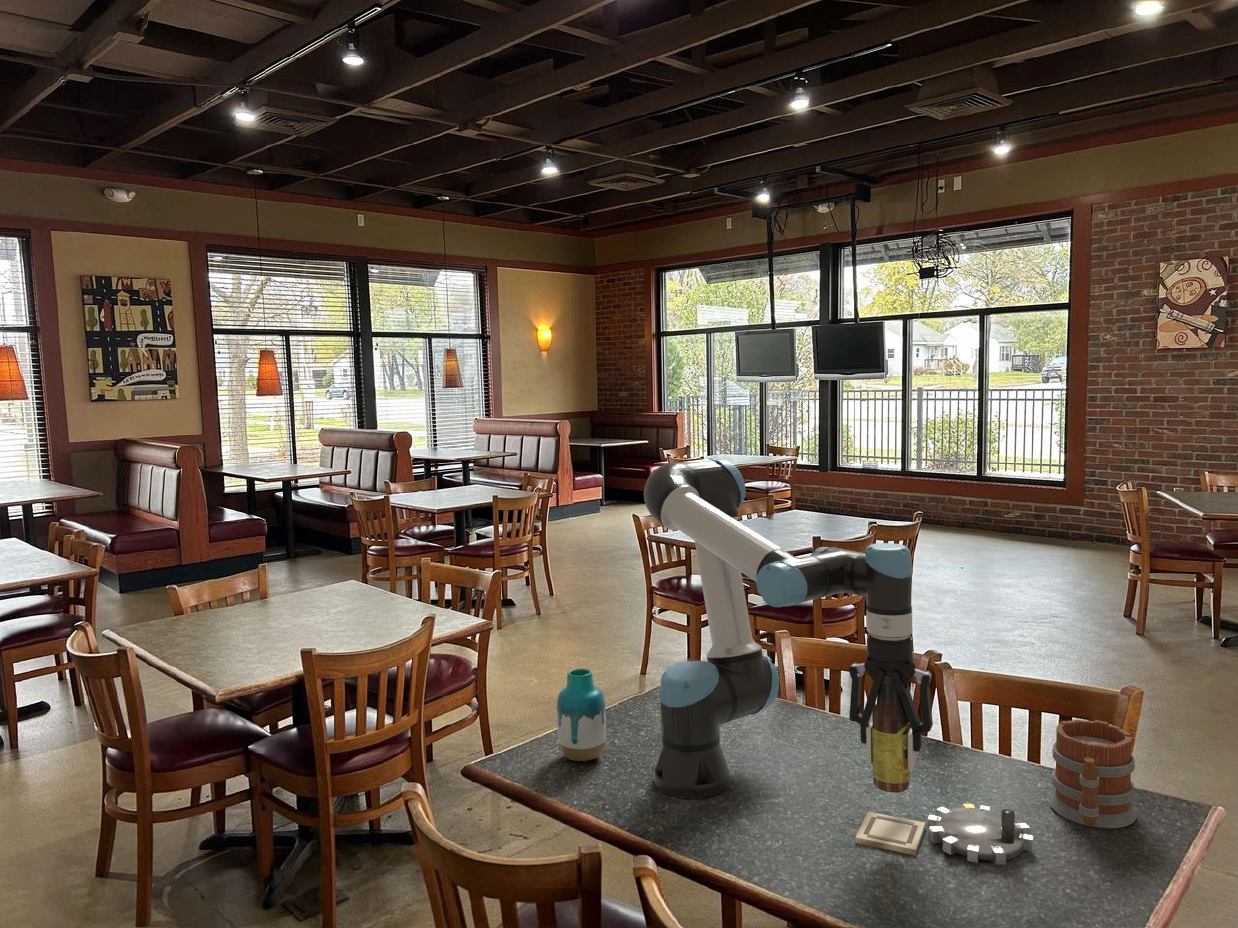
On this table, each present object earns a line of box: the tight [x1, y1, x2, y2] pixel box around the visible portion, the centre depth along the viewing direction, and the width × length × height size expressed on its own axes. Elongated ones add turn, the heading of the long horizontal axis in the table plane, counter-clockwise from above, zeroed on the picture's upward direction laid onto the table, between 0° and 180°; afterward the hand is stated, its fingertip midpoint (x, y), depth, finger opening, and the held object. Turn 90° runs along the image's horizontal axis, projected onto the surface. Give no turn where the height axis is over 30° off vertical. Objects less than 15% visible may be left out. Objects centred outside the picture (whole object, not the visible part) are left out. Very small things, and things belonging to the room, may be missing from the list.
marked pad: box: [854, 811, 926, 856], centre depth 154 cm, size 10×10×1 cm
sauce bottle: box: [871, 676, 911, 793], centre depth 152 cm, size 7×6×20 cm
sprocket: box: [927, 803, 1034, 866], centre depth 151 cm, size 17×16×7 cm
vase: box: [556, 667, 607, 762], centre depth 189 cm, size 11×11×19 cm
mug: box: [1048, 719, 1138, 830], centre depth 157 cm, size 14×19×15 cm
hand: (890, 764), depth 153 cm, fingers closed on sauce bottle, 6 cm apart
